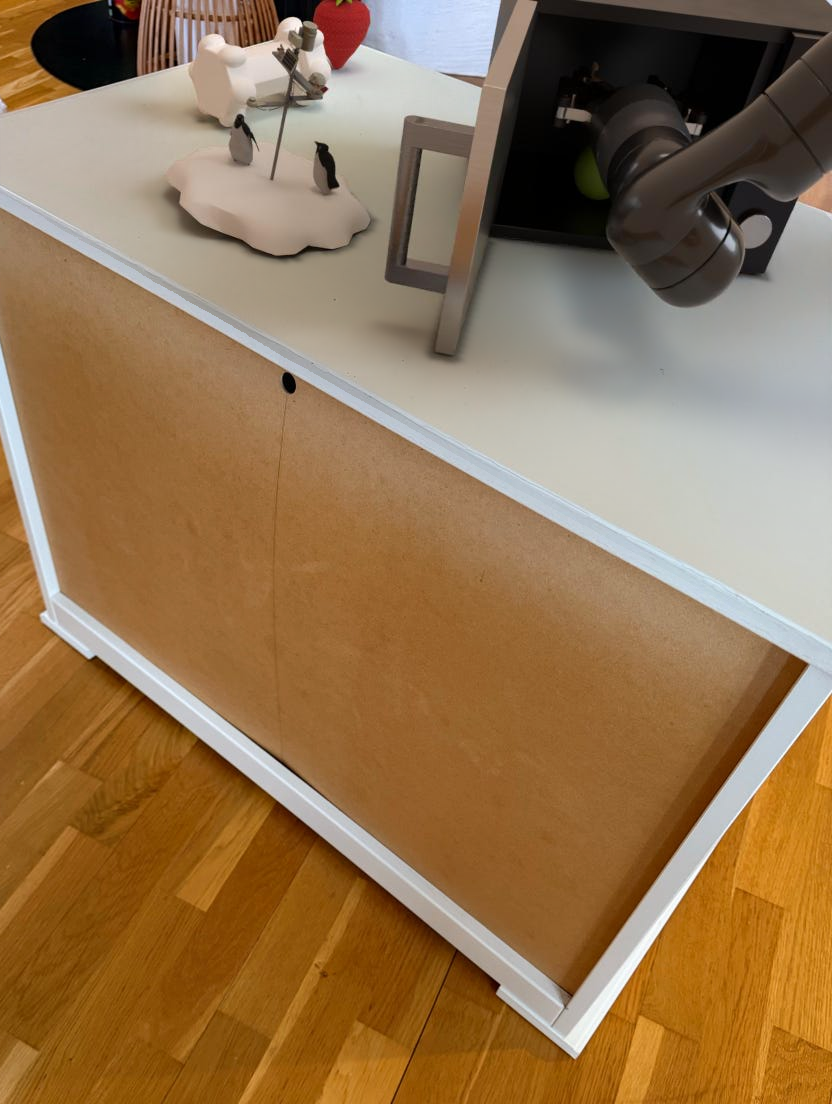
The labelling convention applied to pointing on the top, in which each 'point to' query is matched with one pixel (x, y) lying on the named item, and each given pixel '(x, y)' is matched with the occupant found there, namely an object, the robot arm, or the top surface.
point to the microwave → (629, 58)
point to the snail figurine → (590, 167)
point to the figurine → (272, 179)
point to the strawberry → (342, 28)
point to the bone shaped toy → (249, 72)
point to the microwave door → (480, 186)
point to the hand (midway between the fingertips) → (614, 82)
